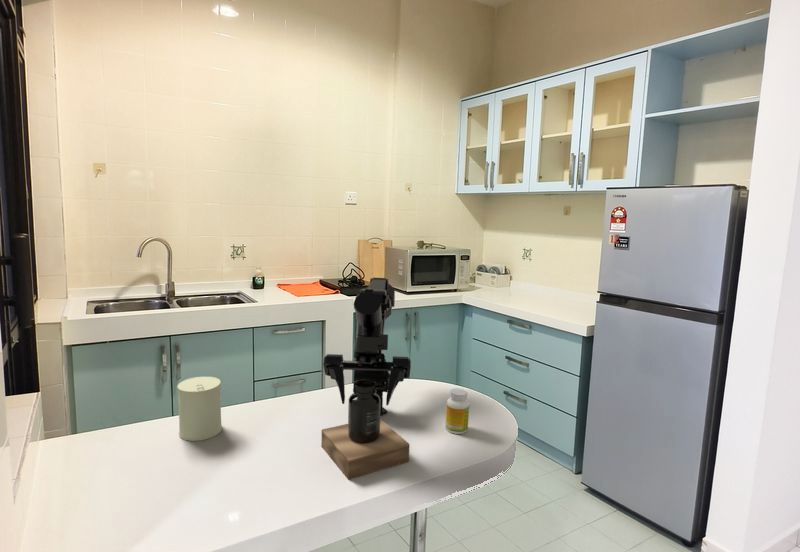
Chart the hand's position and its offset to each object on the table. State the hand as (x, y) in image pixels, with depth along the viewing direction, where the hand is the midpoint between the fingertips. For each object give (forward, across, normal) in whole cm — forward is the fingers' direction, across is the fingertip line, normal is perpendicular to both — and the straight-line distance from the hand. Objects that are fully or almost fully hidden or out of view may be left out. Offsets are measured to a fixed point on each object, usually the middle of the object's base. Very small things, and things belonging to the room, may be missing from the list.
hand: (365, 404), depth 100 cm
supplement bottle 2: (-1, +22, +18) cm, 28 cm away
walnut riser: (+8, 0, +10) cm, 12 cm away
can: (+2, -38, +15) cm, 41 cm away
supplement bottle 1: (+5, 0, +7) cm, 8 cm away
